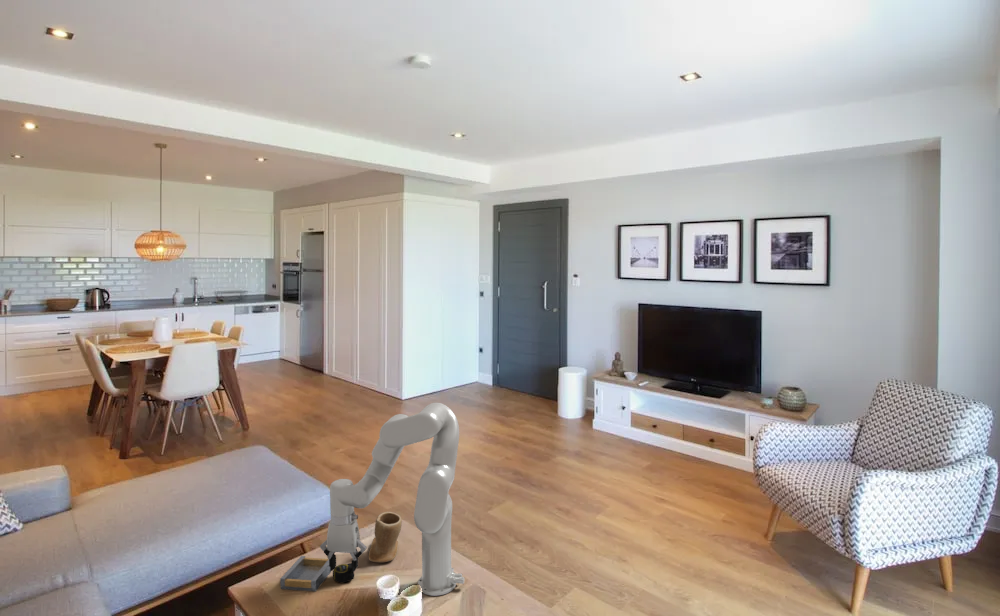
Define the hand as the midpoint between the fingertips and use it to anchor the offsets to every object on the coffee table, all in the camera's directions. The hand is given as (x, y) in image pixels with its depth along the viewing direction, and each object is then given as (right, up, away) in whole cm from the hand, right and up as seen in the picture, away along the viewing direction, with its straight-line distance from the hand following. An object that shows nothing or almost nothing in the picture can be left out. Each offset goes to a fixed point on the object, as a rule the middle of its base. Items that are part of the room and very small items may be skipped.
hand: (343, 568), depth 181 cm
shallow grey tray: (-12, -3, +1) cm, 13 cm away
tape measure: (0, -4, +1) cm, 4 cm away
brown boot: (+11, -3, +16) cm, 20 cm away
